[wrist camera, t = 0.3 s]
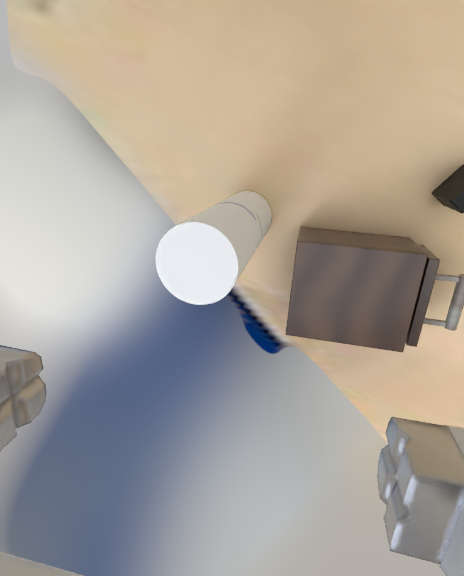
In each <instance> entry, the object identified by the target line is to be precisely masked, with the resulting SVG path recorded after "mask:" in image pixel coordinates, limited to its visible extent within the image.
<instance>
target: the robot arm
mask: <svg viewBox="0 0 464 576" xmlns="http://www.w3.org/2000/svg"><path fill="white" fill-rule="evenodd" d="M42 370H43V364H42V359H41V356H39V355H38V354H37V353H35V352H31V351H26V350H21V349H17V348H12V347H6V346H1V345H0V451H1V450H2V449H3V448H4V447H5V446H6V445H7V444H8V443H9V442H10V441H11V440H12V439H14V438H15V437H16V436H17V429H18V428H19V427H21V426H23V425H26V424H28V423H31V422H32V420H34V419H35V417H37V416H38V415H39V413H40V411H41V409H42V407H43V405H44V403H45V399H46V385H45V383H44V382H43V380H42V379H41V378H40V376H39V374H40V372H41V371H42ZM386 436H387V440H388V445H387V446H386V447H384V448H383V449H381V453H380V458H379V463H378V475H377V478H378V489H379V495H380V498H381V499H382V500H383V502H384V503H385V504H386V505H387V508H386V512H385V515H384V522H385V527H386V532H387V537H388V542H389V547H390V551H392V552H396V553H400V554H404V555H407V556H411V557H415V558H419V559H422V560H426V561H430V562H434V563H437V564H440V568H441V569H442V570H443V572H444V573H445V575H446V576H464V428H461V427H454V426H448V425H444V426H443V425H437V424H431V423H425V422H419V421H414V420H408V419H402V418H396V417H391V419H390V421H389V423H388V426H387V430H386ZM0 576H83V575H79V574H76V573H72V572H69V571H65V570H62V569H58V568H55V567H51V566H48V565H44V564H41V563H37V562H34V561H31V560H27V559H23V558H20V557H17V556H13V555H9V554H6V553H3V552H0Z"/></svg>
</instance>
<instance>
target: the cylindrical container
mask: <svg viewBox="0 0 464 576" xmlns="http://www.w3.org/2000/svg"><path fill="white" fill-rule="evenodd" d="M271 219H272V213H271V209H270V206H269V204H268V202H267V201H266V200H265V199H264V198H263V197H262V196H261V195H259V194H258V193H255V192H251V191H242V192H239V193H236V194H234V195H233V196H231V197H229V198H227V199H225V200H223V201H221V202H220V203H218V204H216V205H214V206H212V207H210V208H208V209H207V210H205V211H203V212H201V213H199V214H197V215H195V216H193V217H192V218H190V219H188V220H186V221H184V222H182V223H181V224H179V225H177V226H175V227H173V228H171V229H170V230H169V231H168V232H167V233H166V234H165V235H164V236H163V238H162V239H161V241H160V243H159V245H158V248H157V252H156V267H157V272H158V275H159V277H160V279H161V281H162V283H163V284H164V286H165V287H166V288H167V289H168V291H169V292H171V293H172V294H173V295H174V296H175V297H177V298H179V299H180V300H182V301H185V302H187V303H191V304H196V305H205V304H210V303H214V302H216V301H219V300H220V299H221V298H223V297H225V296H226V295H227V294H228V293H229V292H230V291H231V289H232V287H233V286H234V284H235V283H236V281H237V279H238V278H239V276H240V274H241V273H242V271H243V270H244V268H245V266H246V265H247V263H248V261H249V260H250V258H251V257H252V255H253V253H254V252H255V250H256V248H257V247H258V245H259V243H260V242H261V240H262V239H263V237H264V235H265V234H266V232H267V230H268V229H269V227H270V224H271Z"/></svg>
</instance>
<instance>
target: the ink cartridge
mask: <svg viewBox="0 0 464 576" xmlns="http://www.w3.org/2000/svg"><path fill="white" fill-rule="evenodd" d="M432 194H433V195H434V196H435V197H436V198H437V199H438V200H439V201H440V202H441V203H442V204H443V205H444V206H447V207H449V208H451V209H453V210H456V211H458V212H460V213H464V165H462V166H461V167H460V168H459V169H458V170H456V171H455V172H454V173H453V174H452V175H451V176H450V177H449V178H448V179H446V180H445V181H444V182H443V183H442V184H441V185H440V186H439V187H438V188H437V189H435V190H434V191H433V192H432Z"/></svg>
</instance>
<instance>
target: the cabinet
mask: <svg viewBox="0 0 464 576" xmlns="http://www.w3.org/2000/svg"><path fill="white" fill-rule="evenodd" d="M427 256H428V255H427V254H426V253H425V252H424V251H423V250H422V249H421V248H420V247H419V246H417V245H416V244H415V243H414V242H413V241H412V240H411V239H410V238H407V237H397V236H387V235H377V234H367V233H357V232H347V231H337V230H328V229H318V228H308V227H300V231H299V236H298V241H297V248H296V256H295V264H294V272H293V280H292V288H291V296H290V303H289V311H288V319H287V327H286V335H291V336H298V337H304V338H311V339H318V340H324V341H331V342H338V343H344V344H351V345H358V346H364V347H371V348H378V349H384V350H391V351H398V352H403V350H404V346H405V342H406V338H407V334H408V330H409V327H410V323H411V319H412V315H413V311H414V307H415V303H416V299H417V295H418V291H419V287H420V283H421V280H422V276H423V272H424V268H425V264H426V260H427Z"/></svg>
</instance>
